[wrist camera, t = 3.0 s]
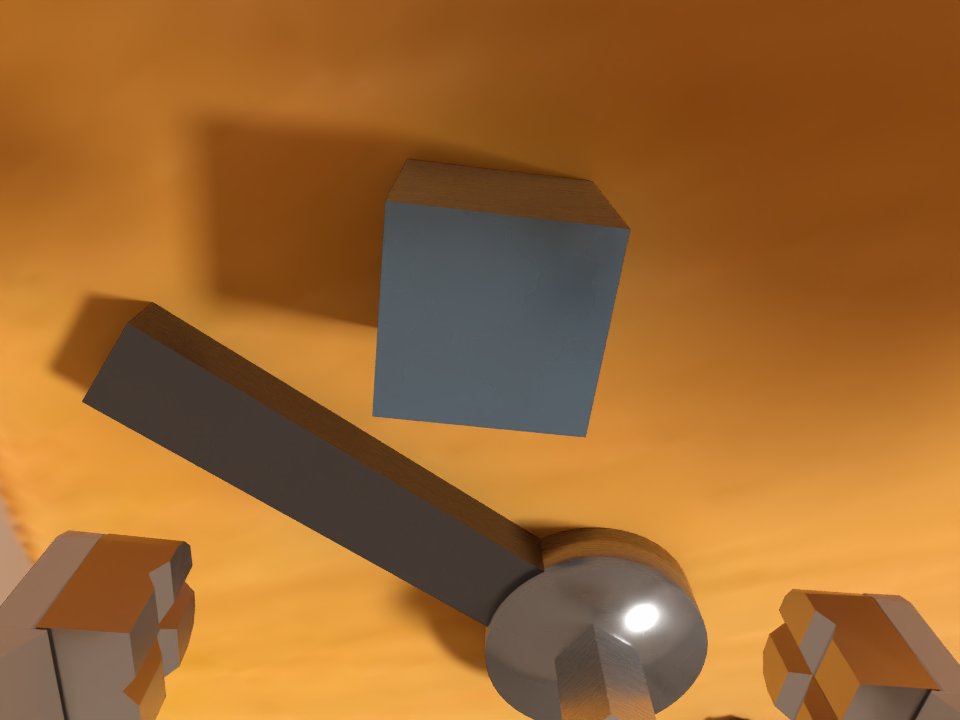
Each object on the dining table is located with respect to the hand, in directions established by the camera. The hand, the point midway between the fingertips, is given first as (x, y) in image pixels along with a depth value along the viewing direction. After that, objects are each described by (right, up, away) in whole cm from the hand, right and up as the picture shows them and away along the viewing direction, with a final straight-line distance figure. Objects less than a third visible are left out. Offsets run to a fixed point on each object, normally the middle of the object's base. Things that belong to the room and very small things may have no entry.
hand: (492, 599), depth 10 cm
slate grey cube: (0, +7, +14) cm, 16 cm away
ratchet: (-2, -3, +19) cm, 19 cm away
